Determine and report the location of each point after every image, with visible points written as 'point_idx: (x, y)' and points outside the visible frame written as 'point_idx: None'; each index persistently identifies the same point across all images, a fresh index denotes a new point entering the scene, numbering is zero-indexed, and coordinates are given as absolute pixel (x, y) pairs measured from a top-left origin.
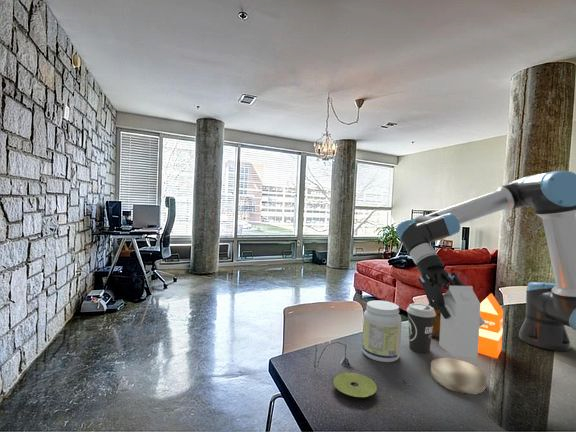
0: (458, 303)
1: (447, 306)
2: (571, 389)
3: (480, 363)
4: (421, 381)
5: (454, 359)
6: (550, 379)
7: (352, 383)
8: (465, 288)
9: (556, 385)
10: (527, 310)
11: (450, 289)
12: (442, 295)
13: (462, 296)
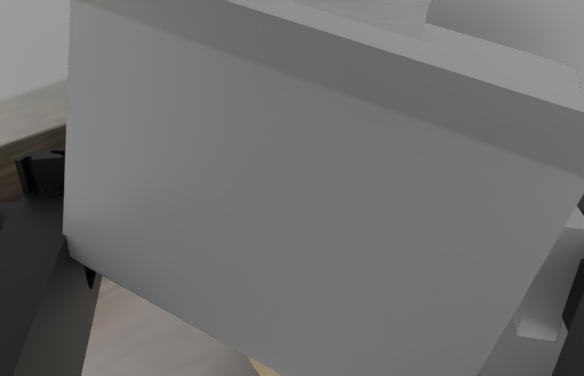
0: (539, 56)
1: (575, 214)
2: (53, 83)
3: (104, 329)
4: (525, 371)
5: (258, 362)
6: (29, 137)
7: None
8: (192, 11)
9: (61, 112)
10: None
11: (563, 151)
12: (581, 344)
13: (426, 17)
